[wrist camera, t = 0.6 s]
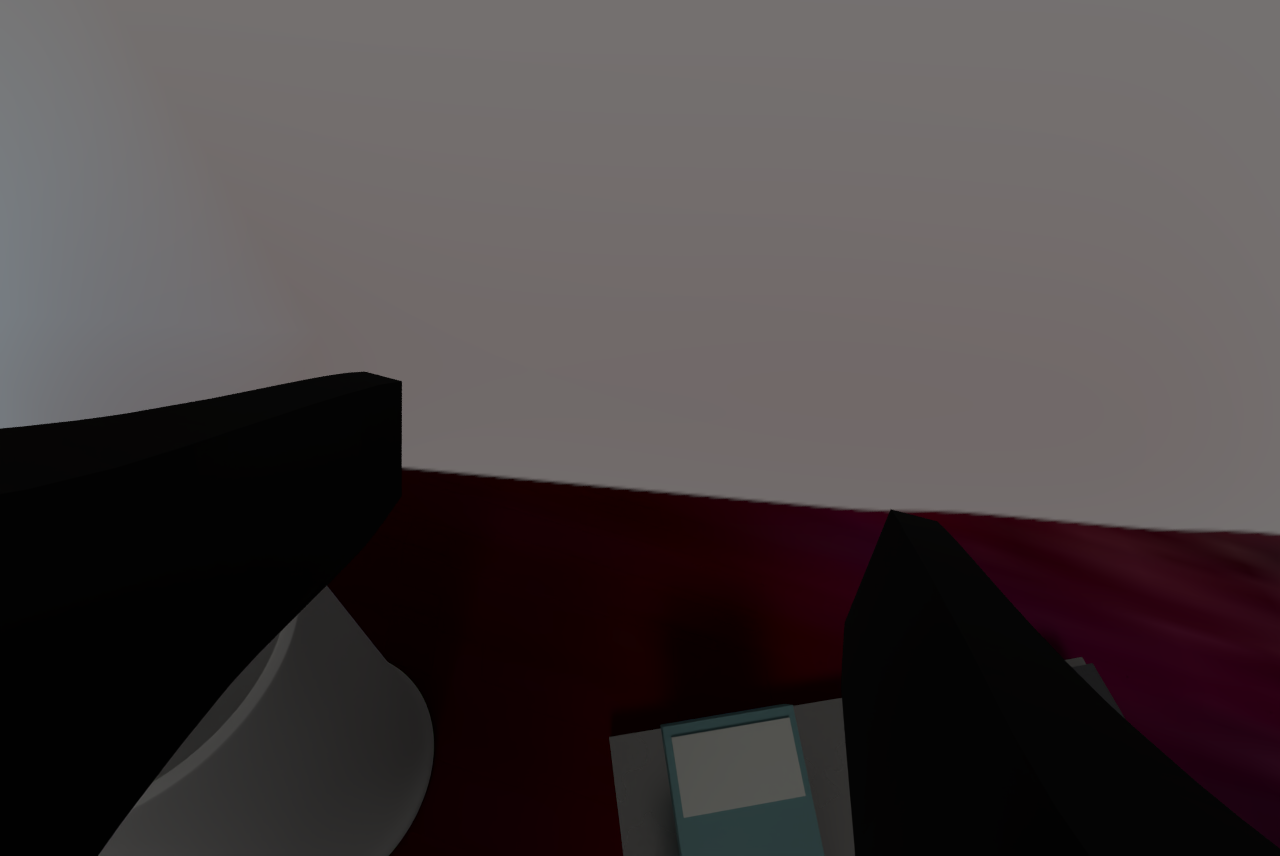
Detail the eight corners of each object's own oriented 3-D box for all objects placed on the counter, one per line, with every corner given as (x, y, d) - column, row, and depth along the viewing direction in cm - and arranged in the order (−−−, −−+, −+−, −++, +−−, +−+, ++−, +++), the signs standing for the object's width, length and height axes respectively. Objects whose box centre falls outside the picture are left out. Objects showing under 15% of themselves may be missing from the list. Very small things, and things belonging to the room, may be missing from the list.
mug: (262, 586, 30) (86, 400, 20) (460, 578, 30) (373, 389, 20) (148, 921, 22) (-216, 867, 13) (413, 908, 22) (242, 845, 13)
